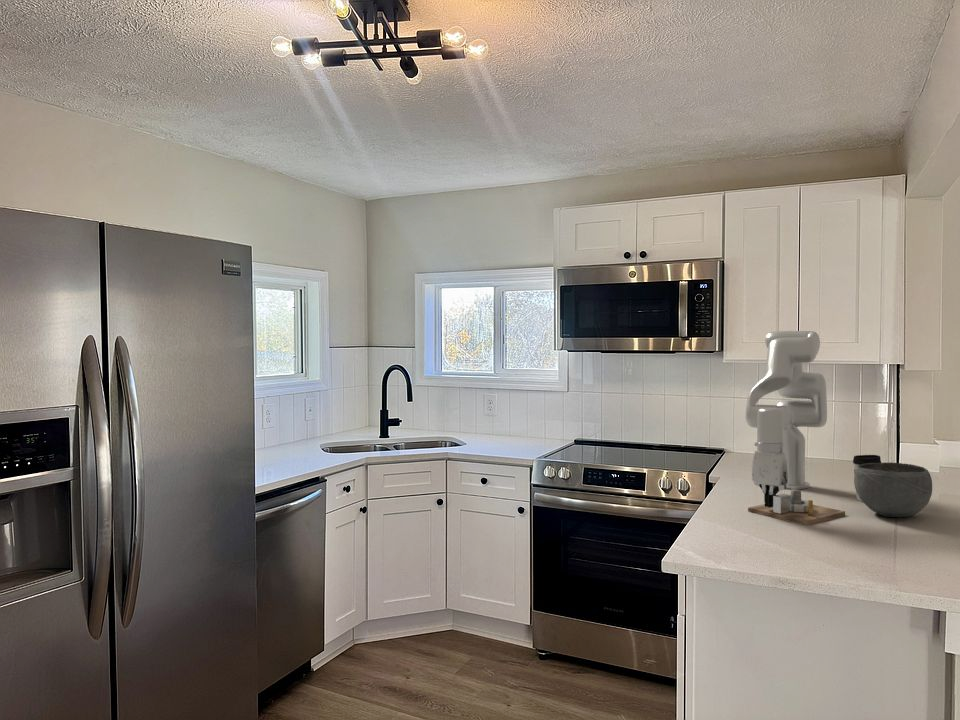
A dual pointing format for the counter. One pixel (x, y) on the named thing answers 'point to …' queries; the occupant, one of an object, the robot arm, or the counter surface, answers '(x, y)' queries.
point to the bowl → (893, 488)
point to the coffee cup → (863, 460)
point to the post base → (805, 518)
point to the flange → (788, 504)
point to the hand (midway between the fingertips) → (770, 506)
